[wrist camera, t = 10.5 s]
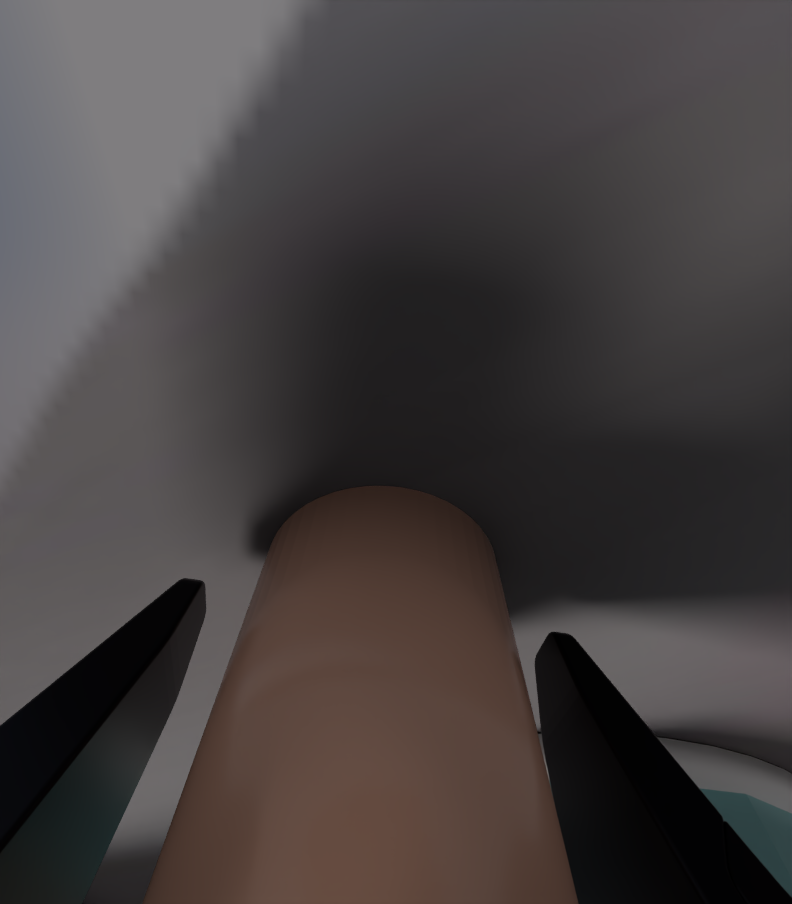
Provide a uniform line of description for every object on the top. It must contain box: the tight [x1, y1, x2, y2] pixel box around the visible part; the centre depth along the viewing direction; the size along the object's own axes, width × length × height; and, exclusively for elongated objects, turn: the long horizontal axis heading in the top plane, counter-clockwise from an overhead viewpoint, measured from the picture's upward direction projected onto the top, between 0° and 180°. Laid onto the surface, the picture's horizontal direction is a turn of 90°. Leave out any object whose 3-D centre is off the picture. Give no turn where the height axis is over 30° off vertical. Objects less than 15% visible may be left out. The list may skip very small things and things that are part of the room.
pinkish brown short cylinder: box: [142, 486, 579, 904], centre depth 7 cm, size 5×5×6 cm
